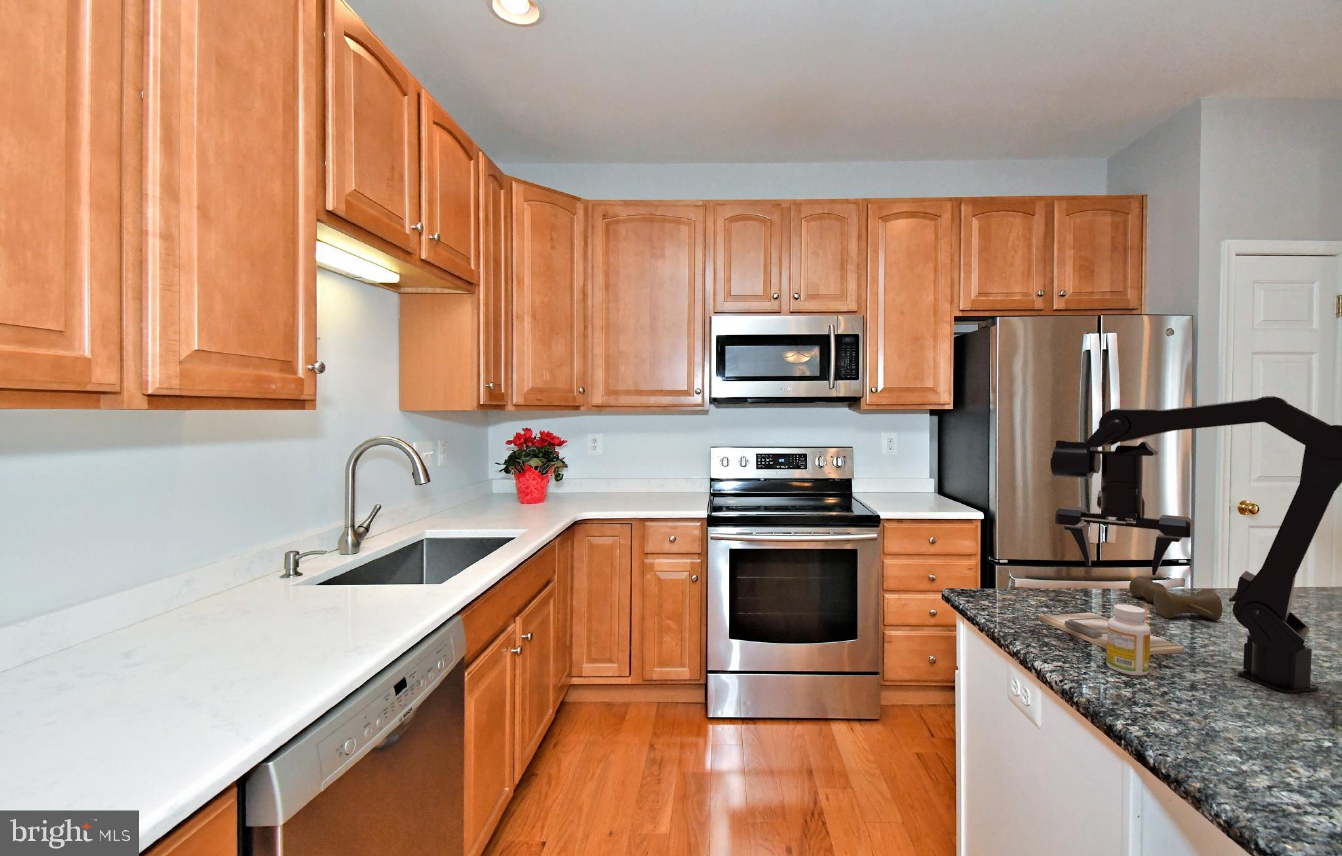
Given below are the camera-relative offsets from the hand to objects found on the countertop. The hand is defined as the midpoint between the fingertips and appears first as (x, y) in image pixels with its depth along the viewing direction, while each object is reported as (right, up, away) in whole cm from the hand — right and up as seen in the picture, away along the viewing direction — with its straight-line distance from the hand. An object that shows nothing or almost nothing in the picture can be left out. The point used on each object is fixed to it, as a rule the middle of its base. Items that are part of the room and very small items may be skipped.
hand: (1120, 570), depth 106 cm
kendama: (+24, -13, +18) cm, 33 cm away
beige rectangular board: (+1, -13, +4) cm, 13 cm away
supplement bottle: (-7, -13, -10) cm, 18 cm away
